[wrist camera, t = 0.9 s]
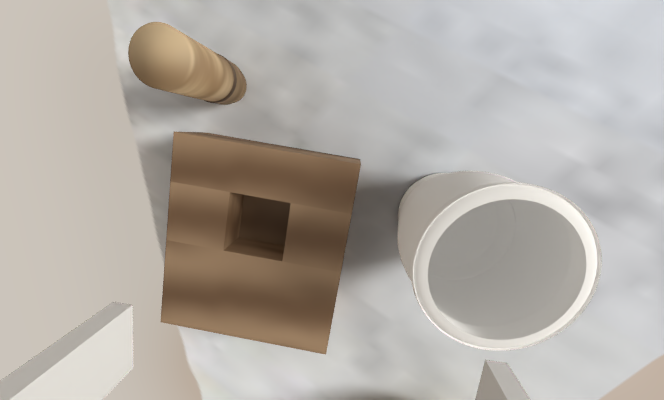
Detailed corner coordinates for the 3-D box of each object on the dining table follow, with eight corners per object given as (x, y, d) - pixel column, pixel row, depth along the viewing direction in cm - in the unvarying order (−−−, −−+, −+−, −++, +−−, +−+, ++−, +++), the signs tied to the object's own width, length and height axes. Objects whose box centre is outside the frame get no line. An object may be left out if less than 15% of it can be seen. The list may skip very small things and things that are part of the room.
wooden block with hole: (205, 132, 34) (173, 131, 28) (359, 159, 33) (360, 164, 27) (191, 292, 37) (160, 322, 31) (330, 319, 37) (325, 354, 31)
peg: (211, 60, 32) (129, 16, 21) (252, 66, 32) (192, 26, 20) (207, 103, 33) (126, 84, 21) (247, 109, 33) (187, 94, 21)
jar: (479, 148, 32) (584, 157, 17) (504, 244, 34) (619, 328, 19) (374, 181, 33) (390, 215, 19) (403, 272, 35) (438, 371, 20)
